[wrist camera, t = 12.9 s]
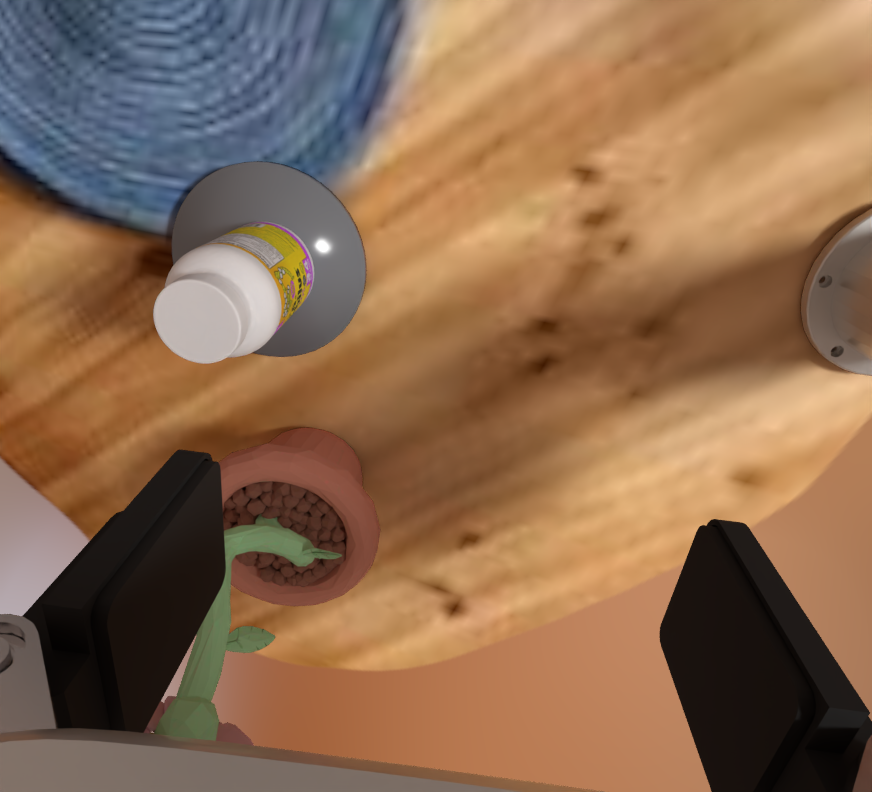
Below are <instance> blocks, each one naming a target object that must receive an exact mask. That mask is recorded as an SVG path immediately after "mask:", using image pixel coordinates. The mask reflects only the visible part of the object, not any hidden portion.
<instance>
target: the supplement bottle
mask: <svg viewBox="0 0 872 792" xmlns="http://www.w3.org/2000/svg"><path fill="white" fill-rule="evenodd" d="M313 282H314V265H313V261H312V257H311V255H310V253H309V250H308V249H307V247H306V245H305V244H304V243H303V241H302V240H301V239H300V238H299V237H298V236H297V235H296V234H295V233H294V232H292V231H291V230H289V229H287V228H286V227H283V226H281V225H279V224H276V223H272V222H253V223H249V224H246V225H243V226H241V227H239V228H237V229H235V230H233V231H231V232H229V233H227V234H225V235H222V236H220V237H218V238H216V239H214V240H212V241H210V242H208V243H206V244H204V245H202V246H200V247H197V248H195V249H193V250H191V251H189V252H188V253H186V254H185V255H183V256H182V257H181V258H180V259H179V260H178V261H177V262H176V263H175V264H174V265H173V267H172V268H171V270H170V272H169V274H168V277H167V279H166V283H165V288H164V289H163V290H162V291H161V292H160V293H159V295H158V297H157V299H156V301H155V304H154V310H153V317H154V323H155V327H156V330H157V332H158V334H159V336H160V338H161V339H162V341H163V342H164V343H165V344H166V346H167V347H168V348H169V349H171V350H172V351H173V352H174V353H176V354H177V355H178V356H180V357H182V358H184V359H186V360H189V361H192V362H197V363H206V364H207V363H215V362H218V361H221V360H223V359H225V358H227V357H239V356H244V355H247V354H250V353H252V352H254V351H256V350H258V349H259V348H261V347H262V346H263V345H265V344H266V343H267V342H268V341H269V339H270V338H271V337H272V336H273V335H274V334H275V333H276V332H277V331H278V329H279V328H280V327H281V326H282V325H283V324H284V323H285V322H286V321H287V320H288V319H289V318H290V317H291V315H292V314H293V313H294V312H295V311H296V310H297V309H298V308H299V307H300V306H301V305H302V303H303V302H304V301H305V300H306V298H307V297H308V295H309V294H310V291H311V289H312V286H313Z"/></svg>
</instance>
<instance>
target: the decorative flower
mask: <svg viewBox="0 0 872 792" xmlns="http://www.w3.org/2000/svg"><path fill="white" fill-rule="evenodd" d="M219 464H220V469H221V486H222V505H223V523H224V542H225V560H226V573H225V578H224V582H223V585H222V587H221V589H220V591H219V593H218V595H217V596H216V598H215V600H214V602H213V604H212V606H211V608H210V610H209V611H208V613H207V615H206V617H205V619H204V621H203V623H202V624H201V626H200V628H199V630H198V632H197V637H196V640H195V643H194V646H193V649H192V651H191V655H190V658H189V660H188V663H187V666H186V669H185V672H184V675H183V678H182V681H181V685H180V687H179V690H178V693H177V696H176V697H174V696H168V697H167V698H166V700H165V703H163V702H161V701H160V703H159V705H158V707H157V709H156V710H155V712H154V714H153V716H152V718H151V720H150V722H149V724H148V725H147V727H146V729H145V731H144V733H148V734H157V735H166V736H176V737H185V738H194V739H203V740H212V741H222V742H230V743H238V744H245V745H253V743H252V741H251V739H250V738H249V737H248V736H246V735H245V734H244V733H243V732H242V731H241V730H240V729H239V728H238V727H237V726H236V725H233V724H231V723H228V722H227V723H225V724H222V723H220V722H219V719H218V715H217V712H216V708H215V705H214V704H213V703H212V702H211V700H212V698H213V695H214V692H215V689H216V687H217V684H218V681H219V678H220V675H221V672H222V666H223V661H224V656H225V651H226V650H228V651H232V652H242V653H250V652H254V651H257V650H260V649H262V648H264V647H266V646H267V645H269V644H270V643H271V642H272V641H273V640H274V639H275V635H273V634H271V633H269V632H268V631H266V630H264V629H260V628H256V627H253V625H252V626H243V627H238V628H236V629H235V630H234V631H232V632H231V633H230V634H229V630H230V625H231V609H230V590H231V585H233V586H234V587H236V588H237V589H238V590H240V591H241V592H244V593H246V594H248V595H251V596H253V597H255V598H258V599H261V600H264V601H267V602H269V603H272V604H280V605H288V606H305V605H316V604H320V603H324V602H327V601H329V600H332V599H334V598H337V597H339V596H342V595H344V594H345V593H346V592H348V591H349V590H350V589H352V588H353V587H354V586H355V585H357V584H358V583H359V582H360V581H361V579H362V578H363V577H364V576H365V575H366V573H367V572H368V570H369V569H370V568H371V566H372V564H373V561H374V558H375V555H376V553H377V549H378V543H379V536H380V526H379V522H378V518H377V514H376V511H375V507H374V503H373V501H372V499H371V498H370V497H369V496H368V494H367V493H366V492H365V491H364V489H363V488H362V485H363V484H362V470H361V466H360V462H359V459H358V458H357V456H356V454H355V453H354V451H353V449H352V448H351V447H350V446H349V445H348V444H347V443H346V442H345V441H344V440H342V439H340V438H339V437H337V436H336V435H334V434H332V433H330V432H327V431H324V430H320V429H314V428H299V429H292V430H289V431H286V432H283V433H281V434H280V435H278V436H277V437H276V438H274V439H273V440H272V441H270V442H269V443H268V444H267V443H266V444H263V445H259V446H255V447H251V448H247V449H244V450H240V451H236V452H232V453H231V454H229V455H228V456H227V457H225V458H224V459H223V460H221V461H220V462H219ZM152 731H153V732H154V733H151V732H152ZM253 746H254V745H253Z"/></svg>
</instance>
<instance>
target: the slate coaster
mask: <svg viewBox="0 0 872 792" xmlns="http://www.w3.org/2000/svg"><path fill="white" fill-rule="evenodd" d="M253 222H272V223H276V224H279V225H281V226H283V227H286V228H287V229H289V230H291V231H292V232H294V233H295V234H296V235H297V236H298V237H299V238H300V239H301V240H302V241H303V243H304V244H305V245H306V247H307V249H308V250H309V253H310V255H311V257H312V261H313V265H314V282H313V286H312V289H311V291H310V294H309V295H308V297H307V298H306V300H305V301H304V302H303V303H302V305H301V306H300V307H299V308H298V309H297V310H296V311H295V312H294V313H293V314H292V315H291V317H290V318H289V319H288V320H287V321H286V322H285V323H284V324H283V325H282V326H281V327H280V328H279V329H278V331H277V332H276V333H275V334H274V335H273V336H272V337H271V338H270V339H269V341H268V342H267V343H266V344H265V345H263V346H262V347H261V348H259V349H258V350H256V351H254V352H253V353H256V354H261V355H266V356H276V357H287V356H296V355H302V354H306V353H309V352H312V351H315V350H317V349H319V348H321V347H323V346H325V345H326V344H328V343H329V342H331V341H332V340H334V339H335V338H336V337H337V336H338V335H339V334H340V333H341V332H342V331H343V330H344V329H345V328H346V326H347V325H348V324H349V323H350V321H351V319H352V318H353V316H354V314H355V313H356V311H357V309H358V307H359V305H360V302H361V300H362V297H363V293H364V289H365V283H366V257H365V250H364V246H363V243H362V239H361V236H360V234H359V231H358V229H357V226H356V224H355V222H354V221H353V219H352V217H351V215H350V213H349V212H348V211H347V209H346V208H345V206H344V205H343V204H342V202H341V201H340V200H339V199H338V198H337V197H336V196H335V195H334V194H333V193H332V192H331V191H330V190H329V189H328V188H327V187H326V186H324V185H323V184H322V183H321V182H319V181H318V180H316V179H315V178H313V177H312V176H310V175H308V174H306V173H304V172H302V171H300V170H298V169H295V168H292V167H290V166H287V165H283V164H278V163H273V162H262V161H255V162H244V163H240V164H235V165H231V166H227V167H225V168H222V169H220V170H218V171H215V172H214V173H212V174H210V175H209V176H207V177H206V178H204V179H203V180H202V181H201V182H200V183H198V184H197V185H196V186H195V187H194V188H193V190H192V191H191V192H190V193H189V194H188V195H187V197H186V199H185V200H184V202H183V204H182V205H181V207H180V210H179V212H178V214H177V217H176V220H175V224H174V228H173V235H172V258H173V264H175V263H176V262H177V261H178V260H179V259H180V258H181V257H182V256H183V255H185V254H186V253H188V252H189V251H191V250H193V249H195V248H197V247H200V246H202V245H204V244H206V243H208V242H210V241H212V240H214V239H216V238H218V237H220V236H222V235H225V234H227V233H229V232H231V231H233V230H235V229H237V228H239V227H241V226H243V225H246V224H249V223H253Z"/></svg>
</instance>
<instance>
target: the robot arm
mask: <svg viewBox="0 0 872 792" xmlns="http://www.w3.org/2000/svg"><path fill="white" fill-rule="evenodd" d="M821 277H822V279H821ZM820 279H821V280H820ZM819 280H820V281H819ZM801 317H802V322H803V328H804V330H805V333H806V335H807V337H808V339H809V341H810V343H811V344H812V345H813V347H814V348H815V349H816V350H817V352H818V353H819V354H821V355H822V356H823V357H825V358H826V359H827V360H828V361H830V362H831V363H833V364H835V365H836V366H838V367H840V368H841V369H844V370H847V371H850V372H853V373H856V374H861V375H869V376H872V208H871V209H870V210H868V211H866V212H865V213H863V214H861V215H860V216H858V217H856V218H855V219H853V220H852V221H851V222H850V223H849V224H847V225H846V226H845V227H844V228H843V229H841V230H840V231H839V232H838V233H837V234H836V235H835V236H834V237H833V238H832V239H831V240H830V242H829V243H828V244H827V245H826V246H825V247H824V248H823V250H822V251H821V253H820V254H819V256H818V257H817V259H816V261H815V262H814V264H813V266H812V268H811V270H810V272H809V274H808V277H807V279H806V281H805V285H804V290H803V294H802V298H801ZM225 573H226V560H225V542H224V523H223V505H222V486H221V469H220V464H219V463H218V462H213V461H212V458H211V455H210V454H208V453H202V452H195V451H187V450H178V451H176V452H175V453H174V454H173V455H172V456H171V458H170V459H169V460H168V461H167V462H166V463H165V464H164V465H163V467H162V468H161V469H160V470H159V471H158V472H157V473H156V475H155V476H154V477H153V478H152V479H151V480H150V481H149V482H148V484H147V485H146V486H145V487H144V488H143V489H142V490H141V492H140V493H139V494H138V495H137V496H136V497H135V498H134V499H133V501H132V502H131V503H130V504H129V505H128V506H127V507H126V509H125V510H124V511H122V512H118V513H116V514H115V515H114V516H113V517H111V518H110V519H109V521H108V522H107V523H106V524H105V525H104V526H103V527H102V528H101V529H100V531H99V532H98V533H97V534H96V535H95V536H94V537H93V538H92V539H91V541H90V542H89V543H88V544H87V545H86V546H85V547H84V548H83V549H82V551H81V552H80V553H79V554H78V555H77V556H76V557H75V559H73V561H72V562H71V563H70V564H69V565H68V566H67V567H66V568H65V569H64V571H63V572H62V573H61V574H60V575H59V576H58V578H57V579H56V580H55V581H54V582H53V583H52V584H51V585H50V586H49V587H48V588H47V590H46V591H45V592H44V593H43V594H42V595H41V596H40V597H39V598H38V600H37V601H36V602H35V603H34V604H33V605H32V607H30V608H29V610H28V611H27V612H26V613H25V614H24V615H23V616H17V615H12V614H0V792H603V791H596V790H588V789H581V788H574V787H566V786H559V785H552V784H545V783H536V782H530V781H522V780H515V779H508V778H500V777H493V776H484V775H477V774H470V773H462V772H455V771H447V770H440V769H432V768H424V767H417V766H409V765H402V764H394V763H387V762H379V761H371V760H364V759H356V758H348V757H339V756H332V755H324V754H316V753H308V752H301V751H293V750H285V749H277V748H268V747H261V746H253V745H245V744H238V743H230V742H222V741H212V740H203V739H194V738H185V737H176V736H166V735H157V734H148V733H144V731H145V729H146V727H147V725H148V724H149V722H150V720H151V718H152V716H153V714H154V712H155V710H156V709H157V707H158V705H159V703H160V701H161V699H162V697H163V696H164V693H165V692H166V690H167V688H168V686H169V684H170V682H171V681H172V678H173V677H174V675H175V673H176V671H177V669H178V667H179V666H180V664H181V662H182V660H183V658H184V656H185V654H186V653H187V650H188V649H189V647H190V645H191V643H192V641H193V639H194V637H195V636H196V634H197V632H198V630H199V628H200V626H201V624H202V623H203V621H204V619H205V617H206V615H207V613H208V611H209V610H210V608H211V606H212V604H213V602H214V600H215V598H216V596H217V595H218V593H219V591H220V589H221V587H222V585H223V582H224V578H225ZM660 643H661V647H662V650H663V652H664V655H665V658H666V661H667V664H668V666H669V670H670V673H671V675H672V678H673V681H674V684H675V687H676V690H677V693H678V695H679V699H680V701H681V704H682V707H683V710H684V713H685V716H686V718H687V722H688V724H689V727H690V730H691V733H692V736H693V739H694V742H695V745H696V748H697V750H698V753H699V756H700V759H701V762H702V765H703V768H704V770H705V773H706V776H707V779H708V782H709V785H710V788H711V791H712V792H872V721H871V720H870V718H869V717H868V715H869V714H870V712H869V710H868V709H867V707H866V706H865V704H864V703H863V701H862V700H861V698H860V697H859V695H858V694H857V692H856V691H855V689H854V688H853V686H852V685H851V683H850V681H849V680H848V679H847V677H846V675H845V674H844V672H843V671H842V669H841V668H840V666H839V665H838V663H837V662H836V660H835V659H834V657H833V656H832V654H831V653H830V651H829V649H828V648H827V646H826V645H825V643H824V642H823V641H822V639H821V637H820V636H819V634H818V633H817V631H816V630H815V628H814V627H813V625H812V624H811V622H810V620H809V619H808V617H807V616H806V614H805V613H804V611H803V610H802V609H801V607H800V605H799V604H798V602H797V601H796V599H795V598H794V596H793V595H792V593H791V592H790V590H789V588H788V587H787V585H786V584H785V582H784V581H783V579H782V578H781V576H780V575H779V573H778V572H777V570H776V569H775V567H774V566H773V564H772V563H771V561H770V560H769V558H768V557H767V555H766V553H765V552H764V550H763V549H762V547H761V546H760V544H759V543H758V541H757V540H756V538H755V537H754V535H753V534H752V532H751V531H750V529H749V527H748V526H747V525H746V524H744V523H740V522H732V521H725V520H717V519H713V520H711V521H710V522H709V523H708V524H707V526H705V525H702V526H700V527H699V528H698V530H697V532H696V535H695V538H694V540H693V543H692V545H691V548H690V551H689V553H688V556H687V558H686V561H685V564H684V566H683V569H682V571H681V574H680V577H679V579H678V582H677V585H676V587H675V590H674V592H673V595H672V597H671V600H670V603H669V605H668V608H667V610H666V613H665V616H664V618H663V621H662V623H661V627H660Z"/></svg>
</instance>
